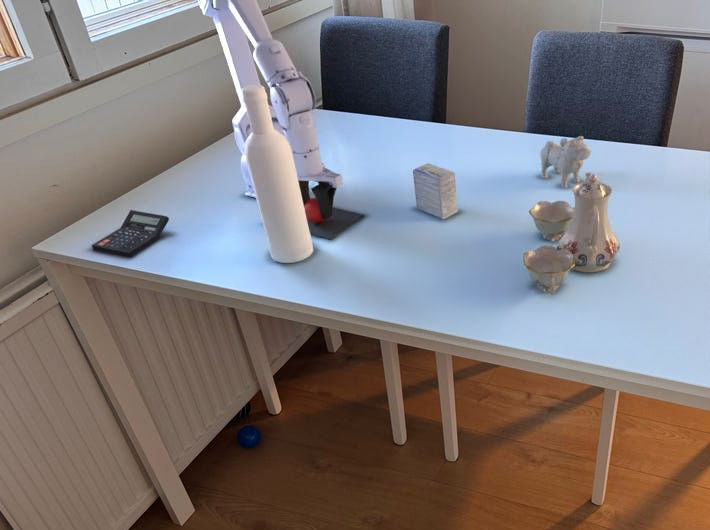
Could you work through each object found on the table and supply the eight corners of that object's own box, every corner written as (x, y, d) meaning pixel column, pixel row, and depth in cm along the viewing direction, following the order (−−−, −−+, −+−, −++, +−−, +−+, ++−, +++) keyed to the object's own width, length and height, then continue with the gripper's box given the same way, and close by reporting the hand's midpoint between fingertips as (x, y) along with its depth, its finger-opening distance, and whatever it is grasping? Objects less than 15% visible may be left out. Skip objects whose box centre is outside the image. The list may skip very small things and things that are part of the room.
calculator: (93, 249, 129) (86, 235, 127) (137, 222, 137) (132, 209, 135) (130, 256, 126) (124, 242, 124) (173, 228, 134) (168, 215, 132)
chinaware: (524, 231, 131) (515, 149, 121) (610, 221, 129) (608, 138, 119) (528, 313, 109) (517, 222, 99) (631, 303, 107) (631, 209, 97)
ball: (300, 224, 133) (295, 201, 130) (316, 214, 136) (312, 191, 133) (320, 229, 131) (315, 206, 128) (336, 219, 134) (331, 195, 131)
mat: (268, 224, 134) (267, 222, 134) (303, 202, 142) (303, 200, 141) (330, 240, 128) (330, 238, 128) (364, 216, 135) (364, 214, 135)
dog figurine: (576, 194, 140) (579, 144, 133) (535, 175, 148) (536, 128, 141) (594, 187, 142) (598, 138, 135) (553, 169, 150) (555, 121, 143)
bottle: (322, 248, 125) (288, 83, 107) (293, 267, 120) (251, 98, 102) (292, 239, 129) (253, 77, 110) (262, 257, 124) (216, 91, 105)
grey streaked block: (458, 212, 135) (456, 172, 130) (443, 220, 133) (439, 179, 127) (431, 202, 139) (428, 162, 134) (416, 209, 137) (411, 169, 131)
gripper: (347, 145, 124) (358, 212, 132) (287, 135, 129) (302, 200, 138) (323, 159, 119) (336, 228, 127) (262, 147, 125) (279, 214, 133)
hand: (317, 214), depth 132 cm, fingers closed on ball, 5 cm apart
